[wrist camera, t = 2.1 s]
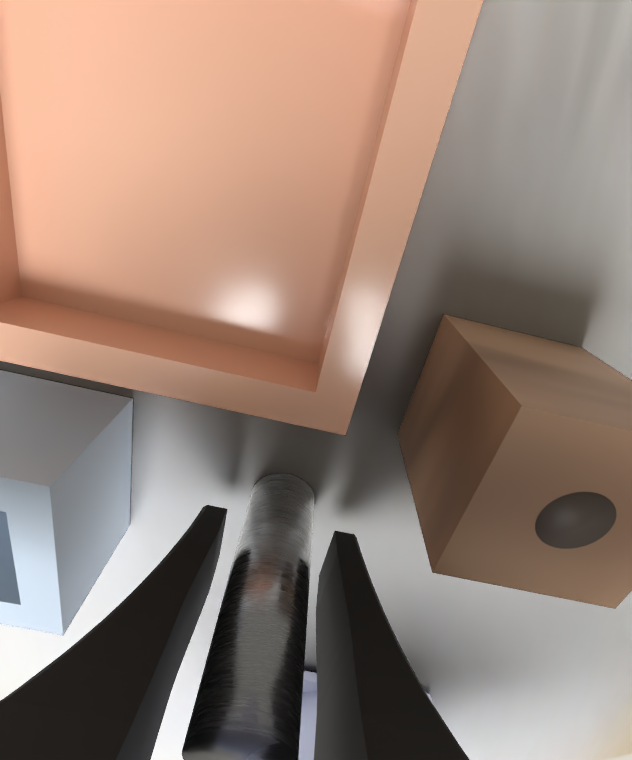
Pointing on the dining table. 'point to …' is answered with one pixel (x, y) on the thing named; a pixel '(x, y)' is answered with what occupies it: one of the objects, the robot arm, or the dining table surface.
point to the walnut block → (522, 463)
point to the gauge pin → (259, 634)
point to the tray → (216, 189)
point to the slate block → (59, 496)
